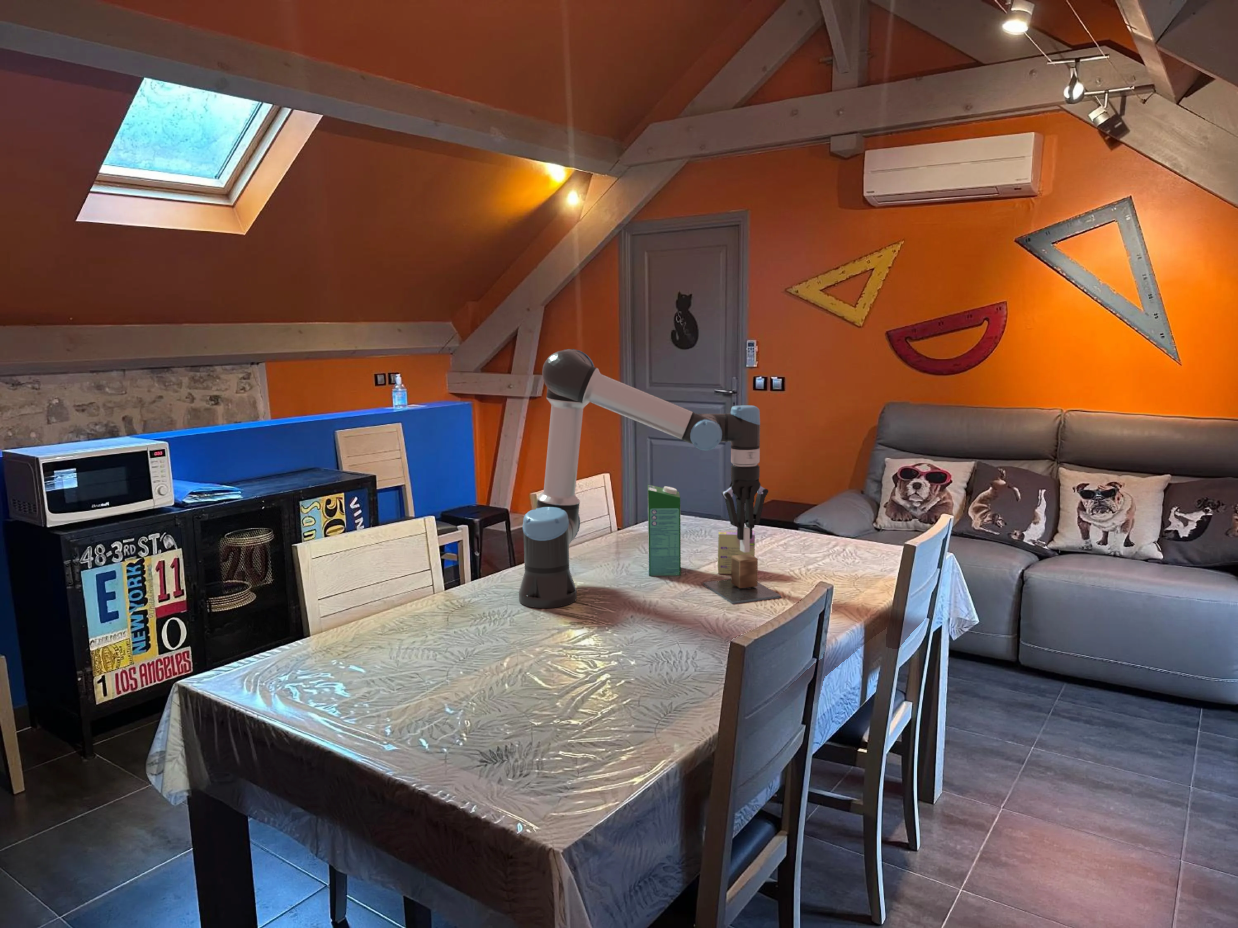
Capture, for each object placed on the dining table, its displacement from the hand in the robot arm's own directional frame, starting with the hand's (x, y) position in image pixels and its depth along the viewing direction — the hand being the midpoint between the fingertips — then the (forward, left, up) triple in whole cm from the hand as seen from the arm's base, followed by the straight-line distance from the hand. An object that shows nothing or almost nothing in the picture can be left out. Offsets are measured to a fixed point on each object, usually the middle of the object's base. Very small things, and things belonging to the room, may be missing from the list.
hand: (744, 550), depth 230 cm
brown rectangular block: (0, 0, -9) cm, 9 cm away
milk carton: (-14, +23, -11) cm, 29 cm away
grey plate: (-2, -2, -10) cm, 11 cm away
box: (+5, +15, -11) cm, 19 cm away
